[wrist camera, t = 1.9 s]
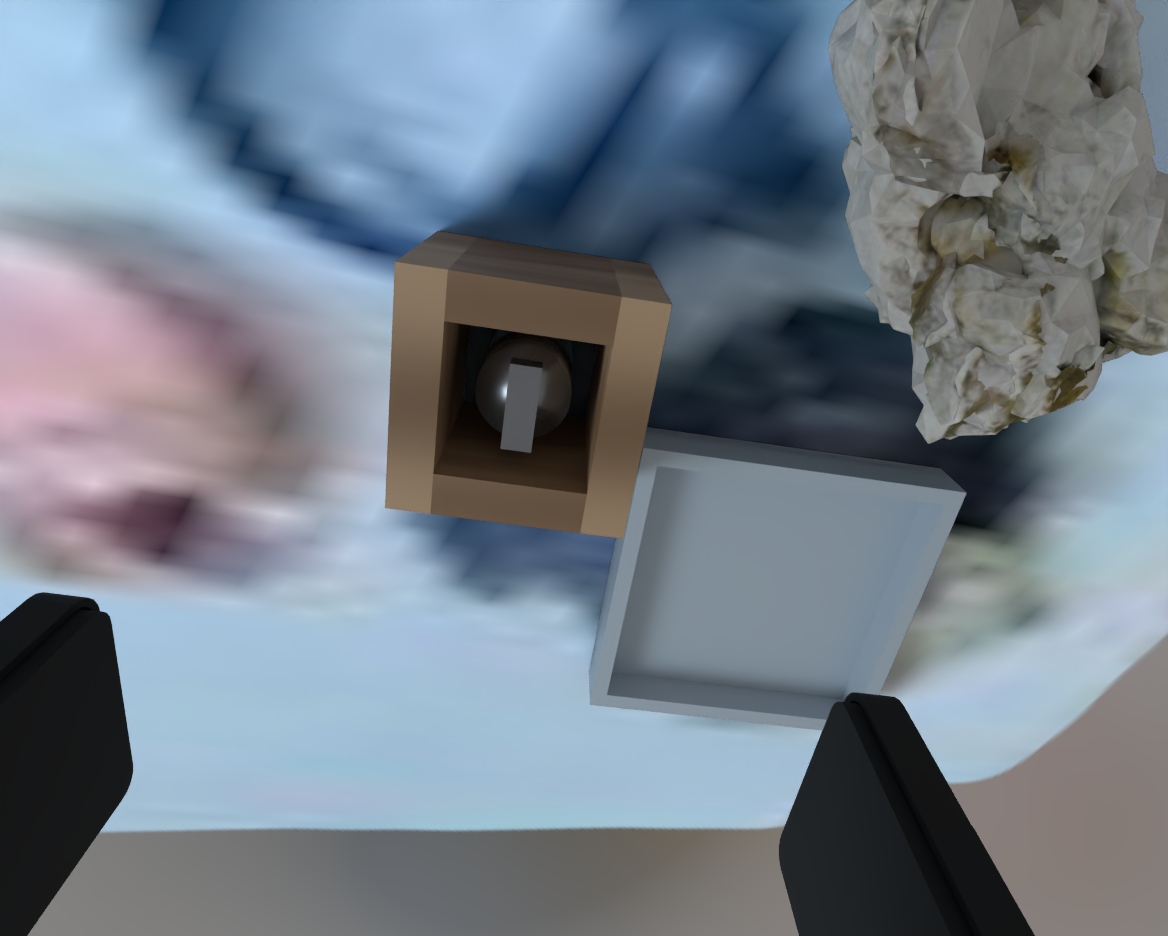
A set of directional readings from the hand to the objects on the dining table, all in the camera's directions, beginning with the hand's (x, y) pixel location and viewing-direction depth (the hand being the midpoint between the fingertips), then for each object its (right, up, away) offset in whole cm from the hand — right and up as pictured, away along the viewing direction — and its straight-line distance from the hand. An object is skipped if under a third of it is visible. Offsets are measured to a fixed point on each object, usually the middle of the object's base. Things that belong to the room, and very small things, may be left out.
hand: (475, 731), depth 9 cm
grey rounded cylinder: (0, +7, +15) cm, 17 cm away
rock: (+12, +15, +12) cm, 23 cm away
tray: (+8, -1, +19) cm, 21 cm away
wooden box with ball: (0, +7, +15) cm, 17 cm away
